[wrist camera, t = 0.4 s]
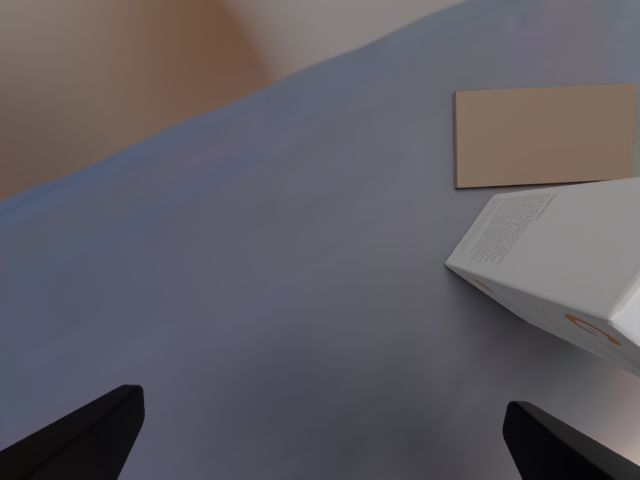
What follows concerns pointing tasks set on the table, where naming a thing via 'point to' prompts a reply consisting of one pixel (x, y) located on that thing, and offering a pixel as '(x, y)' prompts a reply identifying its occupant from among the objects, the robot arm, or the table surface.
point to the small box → (564, 263)
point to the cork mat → (543, 135)
